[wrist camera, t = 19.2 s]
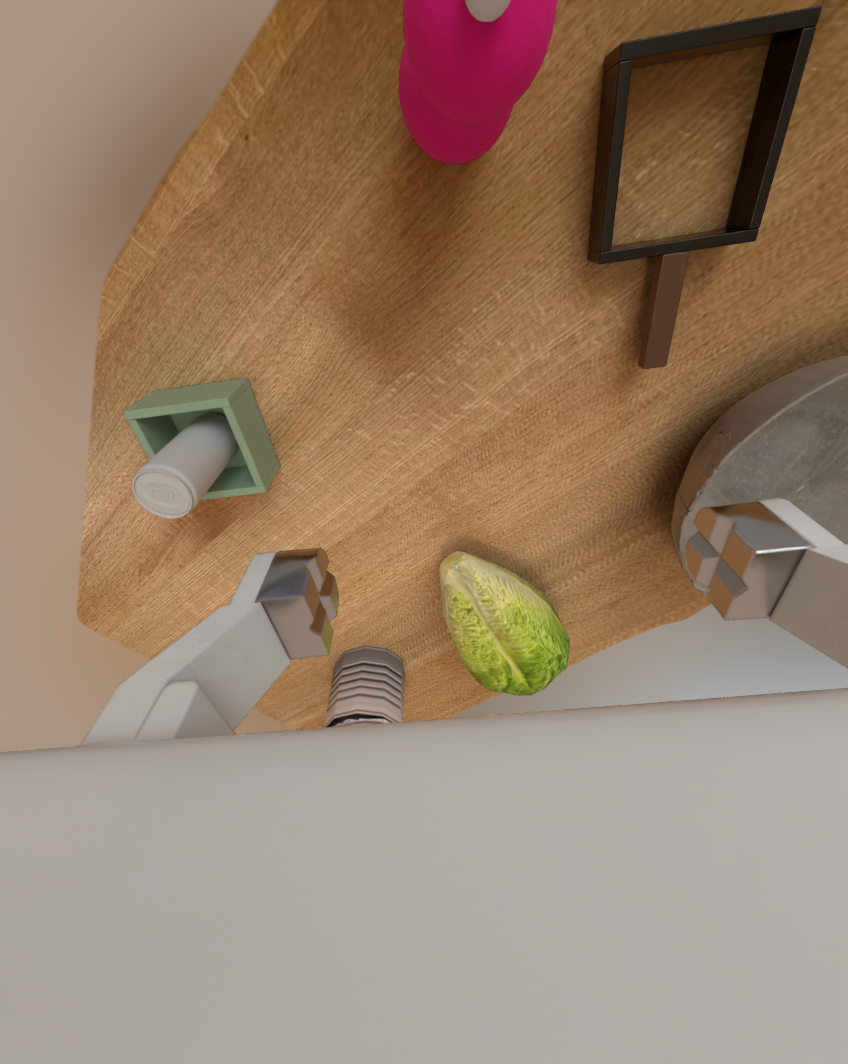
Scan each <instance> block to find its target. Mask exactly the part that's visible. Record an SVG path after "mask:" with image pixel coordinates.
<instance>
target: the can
mask: <svg viewBox="0 0 848 1064" xmlns="http://www.w3.org/2000/svg"><path fill="white" fill-rule="evenodd" d="M403 700H404V668H403V661H402V659H400V658H399V657H398V656H396V655H395V654H393V653H392V652H391V651H389V650H388V649H382V648H375V647H369V646H363V647H360V648H356V649H352V650H348V651H345V652H344V653H343V655H342V656H341V657H340V658H339V659H338V661H337V662H336V663H335V669H334V674H333V680H332V685H331V691H330V696H329V701H328V707H327V712H326V718H325V723H324V728H326V727H339V726H352V725H365V724H379V723H392V722H403Z"/></svg>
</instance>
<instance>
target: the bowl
mask: <svg viewBox="0 0 848 1064" xmlns="http://www.w3.org/2000/svg"><path fill="white" fill-rule="evenodd" d="M772 498H782V499H785V500H788V501H789V502H791V503H792V504H793V505H795V506H796V507H797V508H798V509H800V510H801V511H802V512H804V513H805V514H806V515H808V516H809V517H810V518H811V519H813V520H814V521H815V522H817V523H818V524H819V525H821V526H822V527H823V528H824V529H826V530H827V531H828V532H830V533H831V534H832V535H834V536H835V537H836V538H837V539H839V540H840V541H841V542H843V543H844V544H845V545H847V544H848V355H846V356H842V357H837V358H833V359H828V360H824V361H820V362H817V363H814V364H811V365H809V366H806V367H803V368H800V369H797V370H795V371H793V372H791V373H788V374H786V375H784V376H782V377H780V378H777V379H775V380H773V381H771V382H769V383H767V384H765V385H763V386H762V387H760V388H758V389H757V390H755V391H754V392H752V393H750V394H749V395H747V396H745V397H744V398H742V399H741V400H740V401H739V402H737V403H736V404H735V405H733V406H732V407H731V408H729V409H728V410H727V411H726V412H725V413H724V414H723V415H722V416H721V417H719V418H718V419H717V421H716V422H715V423H714V424H713V425H712V426H711V427H710V429H709V430H708V431H707V432H706V434H705V435H704V436H703V438H702V439H701V440H700V442H699V443H698V445H697V447H696V448H695V450H694V452H693V454H692V456H691V458H690V461H689V463H688V466H687V468H686V470H685V473H684V476H683V479H682V482H681V484H680V487H679V489H678V492H677V495H676V498H675V503H674V510H673V517H672V524H671V533H672V538H673V542H674V546H675V550H676V554H677V556H678V559H679V562H680V564H681V566H682V567H683V569H684V571H685V572H686V574H687V576H688V578H689V579H690V582H691V583H692V584H693V586H694V587H695V588H696V589H697V590H698V591H700V592H701V593H702V594H704V595H708V590H709V588H707V587H705V586H703V585H701V584H699V583H697V582H696V581H695V580H694V579H693V577H692V576H691V574H690V573H689V571H688V568H687V566H686V560H685V549H686V546H687V542H688V540H689V539H690V538H691V537H692V536H693V535H694V534H695V533H696V532H697V531H698V530H697V529H696V527H695V526H694V524H693V522H694V519H695V516H696V514H697V512H698V511H699V510H700V509H701V508H702V507H711V506H720V505H729V504H738V503H747V502H752V501H757V500H765V499H772Z"/></svg>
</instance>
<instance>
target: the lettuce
mask: <svg viewBox="0 0 848 1064" xmlns="http://www.w3.org/2000/svg"><path fill="white" fill-rule="evenodd" d="M439 570H440V583H441V595H442V606H443V615H444V618H445V621H446V623H447V626H448V628H449V631H450V633H451V635H452V638H453V640H454V643H455V645H456V648H457V650H458V653H459V655H460V658H461V660H462V663H463V664H464V665H465V667H466V668H467V669H468V670H469V671H470V673H471V674H472V675H473V676H474V677H475V678H476V680H477V681H478V682H479V683H480V684H482V685H483V686H484V687H486V688H487V689H488V690H491V691H497V692H503V693H509V694H514V695H519V696H520V695H532V694H534V693H536V692H538V691H540V690H542V689H544V688H546V687H547V685H549V683H551V682H552V681H553V680H554V679H555V677H557V676H558V675H559V674H560V673H561V672H562V671H563V670H565V669H566V668H567V664H568V657H569V637H568V635H567V633H566V631H565V629H564V626H563V624H562V622H561V621H560V619H559V617H558V615H557V613H556V611H555V610H554V608H553V607H552V605H551V603H550V602H549V600H548V599H547V597H546V596H545V594H544V593H542V592H541V591H540V590H538V589H537V588H536V587H534V586H533V585H532V584H530V583H529V582H528V581H526V580H524V579H523V578H521V577H519V576H518V575H516V574H514V573H513V572H511V571H509V570H507V569H505V568H503V567H501V566H498V565H496V564H494V563H492V562H489V561H486V560H484V559H481V558H479V557H476V556H474V555H471V554H468V553H464V552H460V551H457V552H454V553H452V554H449V555H448V556H447V557H446V558H445V559H444V560H443V561H442V562H441V565H440V569H439Z"/></svg>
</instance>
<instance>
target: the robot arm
mask: <svg viewBox="0 0 848 1064" xmlns="http://www.w3.org/2000/svg"><path fill="white" fill-rule="evenodd" d="M693 524H694V526H695V527H696V529H697V530H698V531H697V532H696V533H695V534H694V535H693V536H692V537H691V538H690V539H689V540H688V542H687V546H686V549H685V560H686V566H687V568H688V571H689V573H690V574H691V576H692V577H693V579H694V580H695V581H696V582H697V583H699V584H701V585H703V586H705V587H707V588H709V590H708V595H707V597H708V599H709V600H710V601H711V603H712V604H713V605H714V606H715V608H716V609H717V610H718V612H719V613H720V614H721V616H722V617H723V618H724V620H725V621H726V620H742V619H758V618H770V621H772V622H774V623H775V624H777V625H778V626H780V627H782V628H784V629H785V630H787V631H788V632H790V633H791V634H793V635H795V636H796V637H798V638H799V639H801V640H803V641H804V642H806V643H807V644H809V645H811V646H813V647H814V648H816V649H817V650H819V651H820V652H822V653H824V654H825V655H827V656H828V657H830V658H832V659H833V660H835V661H837V662H838V663H840V664H841V665H843V666H845V667H846V668H848V544H847V545H845V544H844V543H843V542H841V541H840V540H839V539H837V538H836V537H835V536H834V535H832V534H831V533H830V532H828V531H827V530H826V529H824V528H823V527H822V526H821V525H819V524H818V523H817V522H815V521H814V520H813V519H811V518H810V517H809V516H808V515H806V514H805V513H804V512H802V511H801V510H800V509H798V508H797V507H796V506H795V505H793V504H792V503H791V502H789V501H788V500H785V499H782V498H772V499H765V500H757V501H752V502H747V503H738V504H729V505H720V506H711V507H702V508H701V509H700V510H699V511H698V512H697V514H696V516H695V519H694V522H693ZM328 564H329V560H328V557H327V555H326V552H325V550H324V549H322V548H312V549H300V550H289V551H279V552H268V553H258V554H256V555H255V556H253V557H252V559H251V561H250V563H249V565H248V567H247V569H246V571H245V573H244V575H243V577H242V580H241V582H240V584H239V586H238V588H237V590H236V592H235V594H234V596H233V598H232V600H231V602H230V604H229V605H226V606H221V607H220V608H219V609H217V610H216V611H215V612H213V613H212V614H211V615H209V616H208V617H207V618H206V619H204V620H203V621H202V622H200V623H199V624H198V625H196V626H195V627H194V628H192V629H191V630H190V631H188V632H187V633H186V634H184V635H183V636H182V637H181V638H179V639H178V640H177V641H175V642H174V643H173V644H171V645H170V646H169V647H167V648H166V649H165V650H163V651H162V652H161V653H160V654H158V655H157V656H156V657H154V658H153V659H152V660H150V661H149V662H148V663H146V664H145V665H144V666H142V667H141V668H140V669H139V670H137V671H136V672H135V673H133V674H132V675H131V676H129V677H128V678H127V679H125V680H124V681H123V682H121V683H120V684H119V685H118V686H117V688H116V689H115V691H114V692H113V694H112V696H111V697H110V699H109V700H108V702H107V703H106V705H105V706H104V708H103V710H102V711H101V713H100V714H99V716H98V717H97V719H96V720H95V722H94V723H93V725H92V726H91V728H90V730H89V731H88V733H87V734H86V736H85V737H84V739H83V741H82V742H81V743H80V745H79V746H75V747H61V748H49V749H35V750H23V751H9V752H0V1064H848V688H841V689H828V690H814V691H801V692H789V693H776V694H762V695H749V696H736V697H723V698H710V699H698V700H685V701H671V702H659V703H645V704H633V705H619V706H605V707H591V708H578V709H565V710H553V711H552V710H551V711H539V712H525V713H512V714H498V715H485V716H472V717H458V718H445V719H431V720H418V721H405V722H392V723H379V724H365V725H352V726H339V727H326V728H313V729H299V730H286V731H273V732H260V733H246V734H236V733H235V732H234V730H235V729H236V728H237V727H238V725H239V724H240V723H241V722H242V721H243V719H244V718H245V717H246V716H247V715H248V713H249V712H250V711H251V710H252V709H253V707H254V706H255V705H256V704H257V702H258V701H259V700H260V699H261V698H262V696H263V695H264V694H265V693H266V692H267V690H268V689H269V688H270V687H271V686H272V684H273V683H274V682H275V681H276V679H277V678H278V677H279V676H280V675H281V673H282V672H283V671H284V670H285V669H286V667H287V666H288V665H289V664H290V663H291V661H290V660H293V659H302V658H311V657H319V656H328V655H329V650H330V645H331V641H332V636H333V628H332V626H331V623H330V622H331V621H332V620H333V619H334V618H335V617H336V616H337V612H338V606H339V593H338V588H337V583H336V580H335V577H334V576H333V575H332V574H331V573H329V572H328V571H327V568H328Z"/></svg>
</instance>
